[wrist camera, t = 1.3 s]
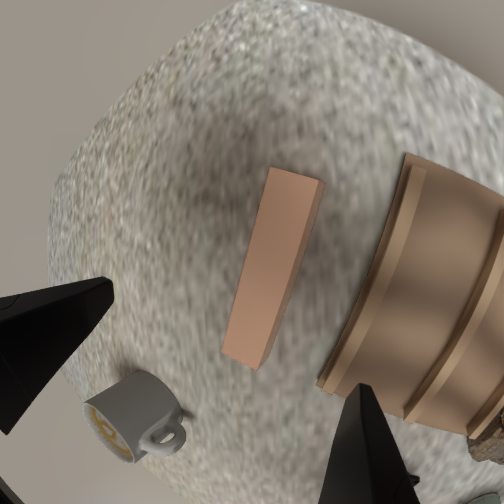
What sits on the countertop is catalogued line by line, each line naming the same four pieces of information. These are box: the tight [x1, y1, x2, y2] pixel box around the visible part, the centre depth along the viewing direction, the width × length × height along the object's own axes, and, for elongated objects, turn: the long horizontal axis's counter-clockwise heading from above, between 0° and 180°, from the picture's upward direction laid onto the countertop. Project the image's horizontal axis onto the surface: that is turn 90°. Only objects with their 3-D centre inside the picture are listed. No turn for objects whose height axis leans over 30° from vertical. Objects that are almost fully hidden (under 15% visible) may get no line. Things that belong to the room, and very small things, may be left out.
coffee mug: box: [82, 371, 186, 464], centre depth 29 cm, size 13×10×10 cm
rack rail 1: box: [321, 165, 427, 395], centre depth 18 cm, size 18×1×2 cm, turn 164°
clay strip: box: [221, 167, 326, 371], centre depth 22 cm, size 16×4×3 cm, turn 165°
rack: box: [316, 153, 504, 436], centre depth 16 cm, size 20×18×1 cm
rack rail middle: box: [403, 210, 504, 424], centre depth 15 cm, size 18×1×2 cm, turn 164°
